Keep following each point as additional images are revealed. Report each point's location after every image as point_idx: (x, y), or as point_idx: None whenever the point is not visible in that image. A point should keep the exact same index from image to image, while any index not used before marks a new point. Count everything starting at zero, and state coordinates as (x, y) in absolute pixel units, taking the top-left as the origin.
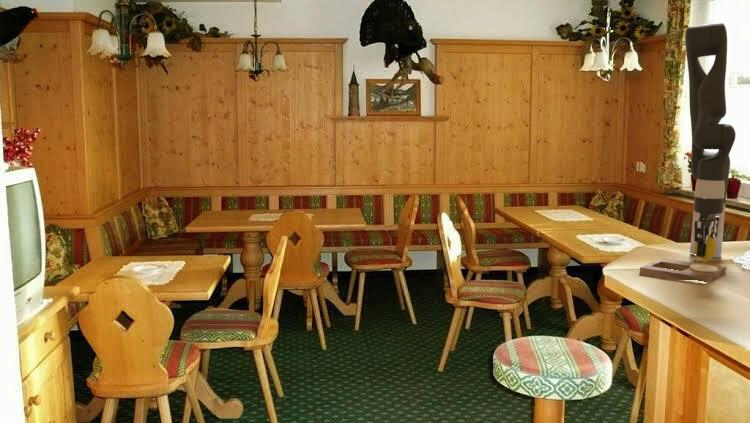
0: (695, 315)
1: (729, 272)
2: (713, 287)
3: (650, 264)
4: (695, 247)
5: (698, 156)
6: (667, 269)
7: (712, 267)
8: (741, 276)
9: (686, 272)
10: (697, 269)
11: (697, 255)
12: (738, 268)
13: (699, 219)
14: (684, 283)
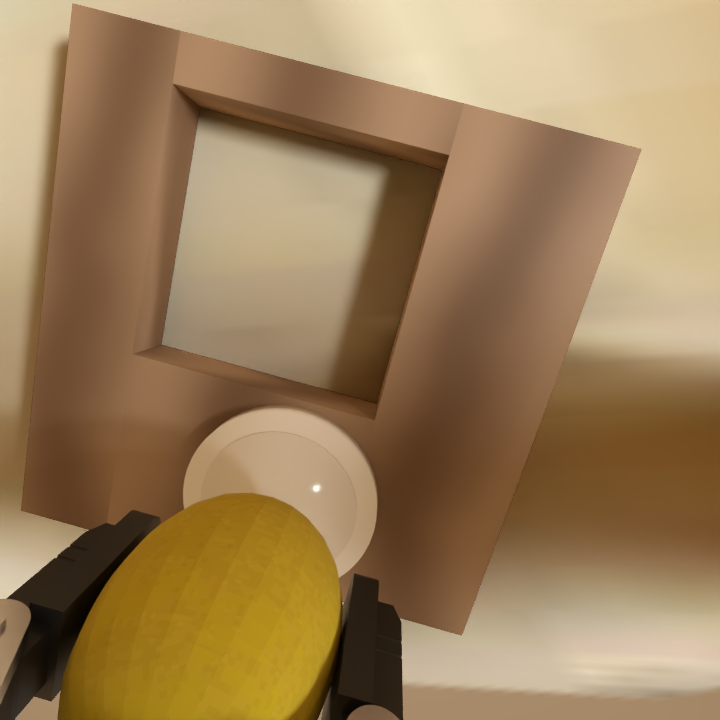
0: None
1: (521, 619)
2: (32, 529)
3: (248, 75)
4: (159, 533)
5: None
6: (127, 244)
7: None
8: (429, 675)
9: (108, 388)
10: (192, 463)
11: (132, 515)
12: (690, 674)
13: None
14: (26, 373)
